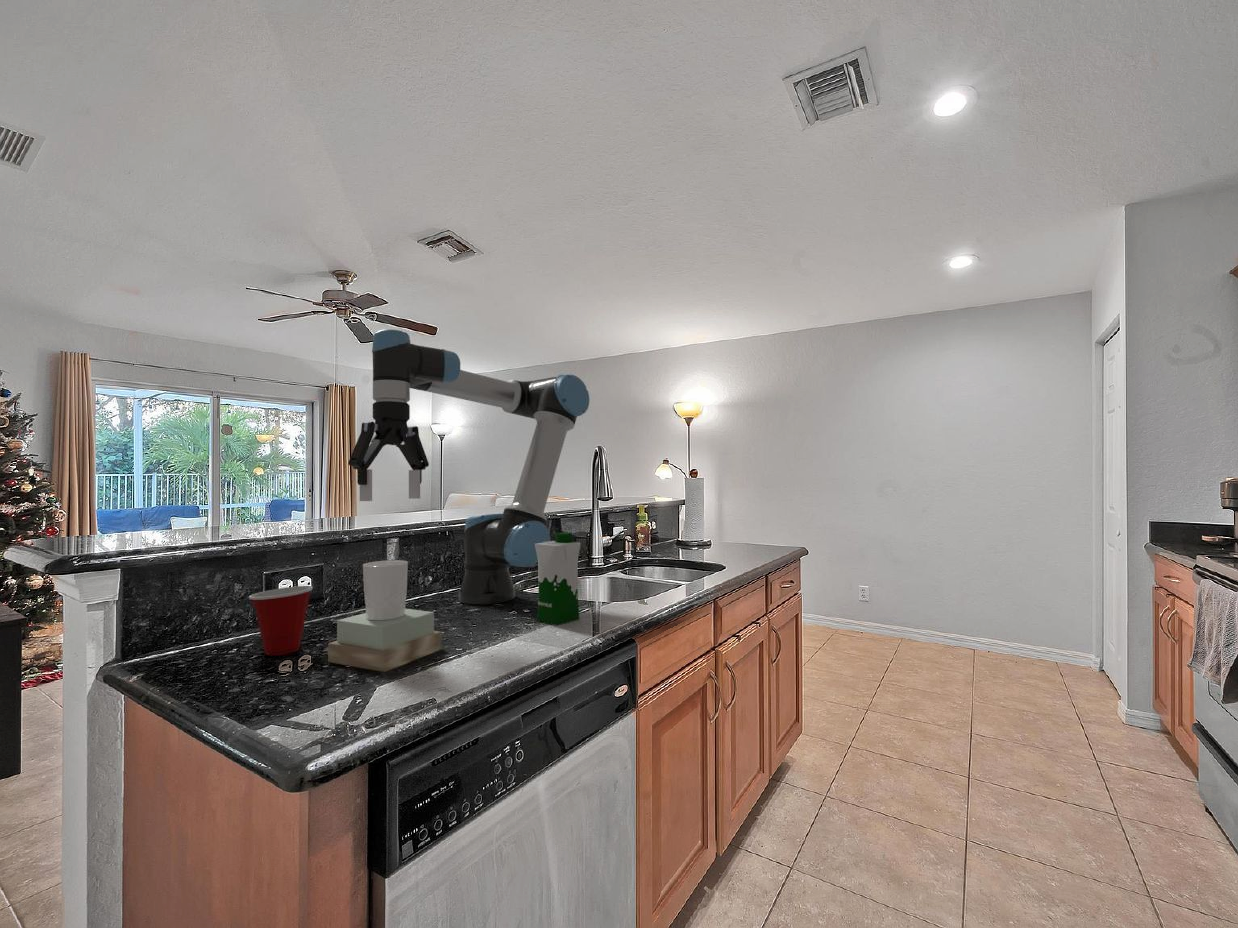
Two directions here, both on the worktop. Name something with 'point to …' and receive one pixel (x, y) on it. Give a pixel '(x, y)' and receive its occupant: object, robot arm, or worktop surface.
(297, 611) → the plastic cup
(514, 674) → the worktop surface
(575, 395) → the robot arm
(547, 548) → the milk carton
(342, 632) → the tower top
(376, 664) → the tower base
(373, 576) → the white cup
